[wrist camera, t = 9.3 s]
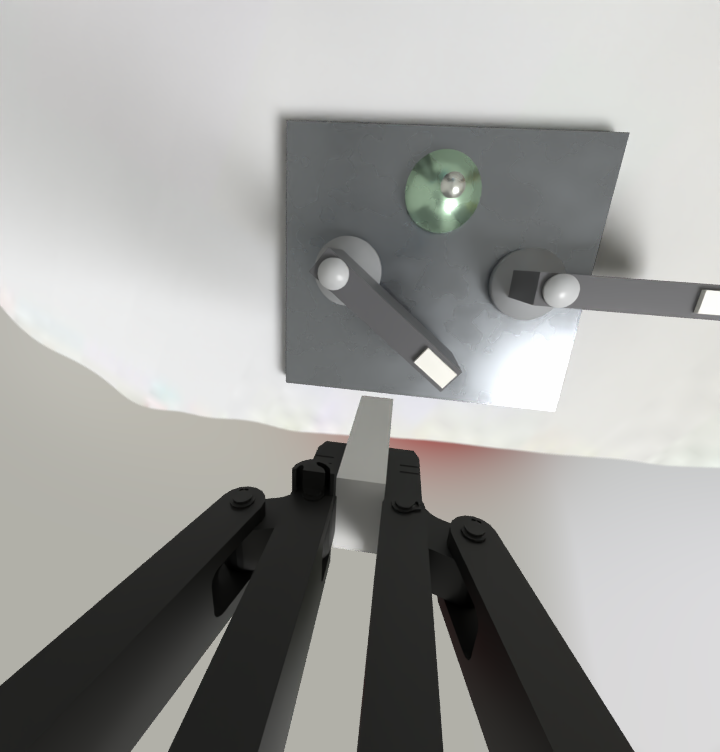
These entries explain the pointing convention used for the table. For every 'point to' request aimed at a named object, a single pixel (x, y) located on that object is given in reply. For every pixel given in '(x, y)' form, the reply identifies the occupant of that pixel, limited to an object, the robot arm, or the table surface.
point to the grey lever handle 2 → (590, 291)
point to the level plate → (442, 248)
